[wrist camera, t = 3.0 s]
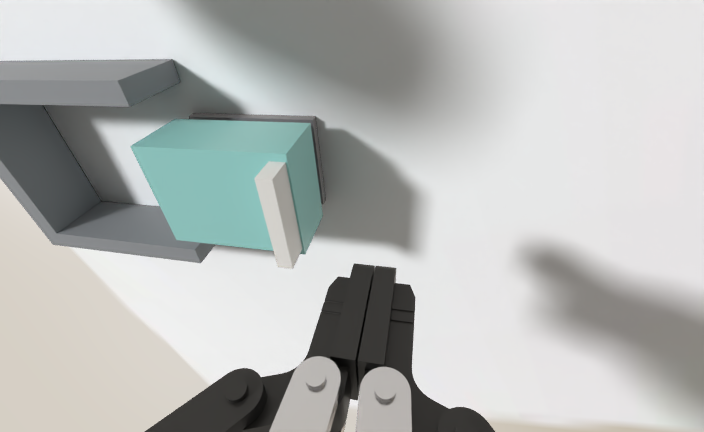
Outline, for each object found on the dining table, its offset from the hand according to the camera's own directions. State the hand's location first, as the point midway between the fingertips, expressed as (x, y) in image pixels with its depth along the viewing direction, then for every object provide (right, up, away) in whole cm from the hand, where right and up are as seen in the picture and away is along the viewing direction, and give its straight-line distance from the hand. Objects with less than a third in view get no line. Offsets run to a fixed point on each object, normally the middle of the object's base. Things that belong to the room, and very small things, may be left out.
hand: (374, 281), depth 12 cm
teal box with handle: (-6, +6, +9) cm, 13 cm away
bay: (-16, +7, +11) cm, 20 cm away
